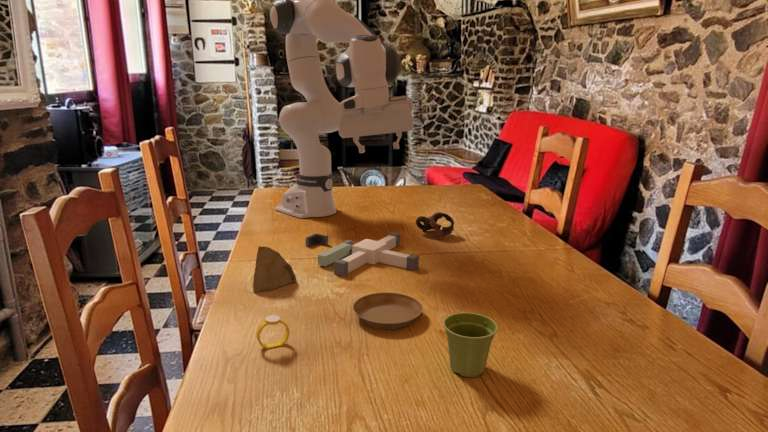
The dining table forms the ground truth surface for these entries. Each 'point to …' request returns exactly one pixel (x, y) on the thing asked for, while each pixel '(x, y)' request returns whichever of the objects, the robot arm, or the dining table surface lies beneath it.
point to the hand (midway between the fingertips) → (379, 150)
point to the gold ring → (272, 321)
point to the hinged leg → (335, 253)
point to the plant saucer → (387, 310)
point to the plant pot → (469, 342)
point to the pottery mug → (435, 224)
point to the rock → (271, 271)
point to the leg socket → (316, 239)
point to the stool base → (376, 255)
